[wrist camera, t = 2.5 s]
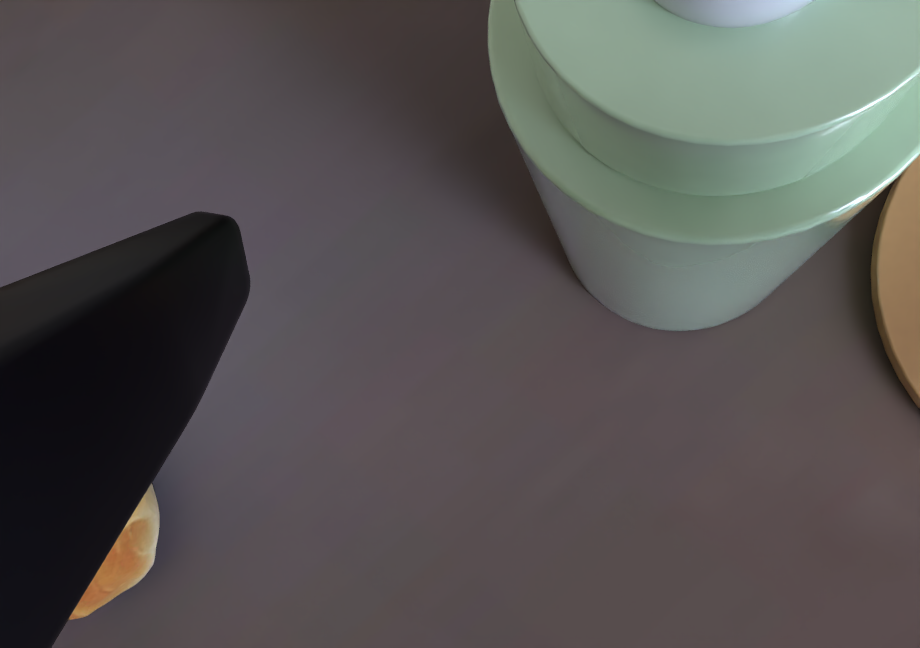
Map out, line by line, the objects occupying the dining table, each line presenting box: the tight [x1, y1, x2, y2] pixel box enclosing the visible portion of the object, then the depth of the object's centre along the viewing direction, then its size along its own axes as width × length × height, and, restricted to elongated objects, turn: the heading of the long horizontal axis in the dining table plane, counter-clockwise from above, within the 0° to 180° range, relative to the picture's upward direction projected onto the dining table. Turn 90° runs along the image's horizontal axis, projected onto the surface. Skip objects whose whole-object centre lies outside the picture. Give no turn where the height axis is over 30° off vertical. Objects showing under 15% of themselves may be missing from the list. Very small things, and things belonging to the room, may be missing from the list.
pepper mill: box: [487, 0, 920, 331], centre depth 12 cm, size 5×5×13 cm
